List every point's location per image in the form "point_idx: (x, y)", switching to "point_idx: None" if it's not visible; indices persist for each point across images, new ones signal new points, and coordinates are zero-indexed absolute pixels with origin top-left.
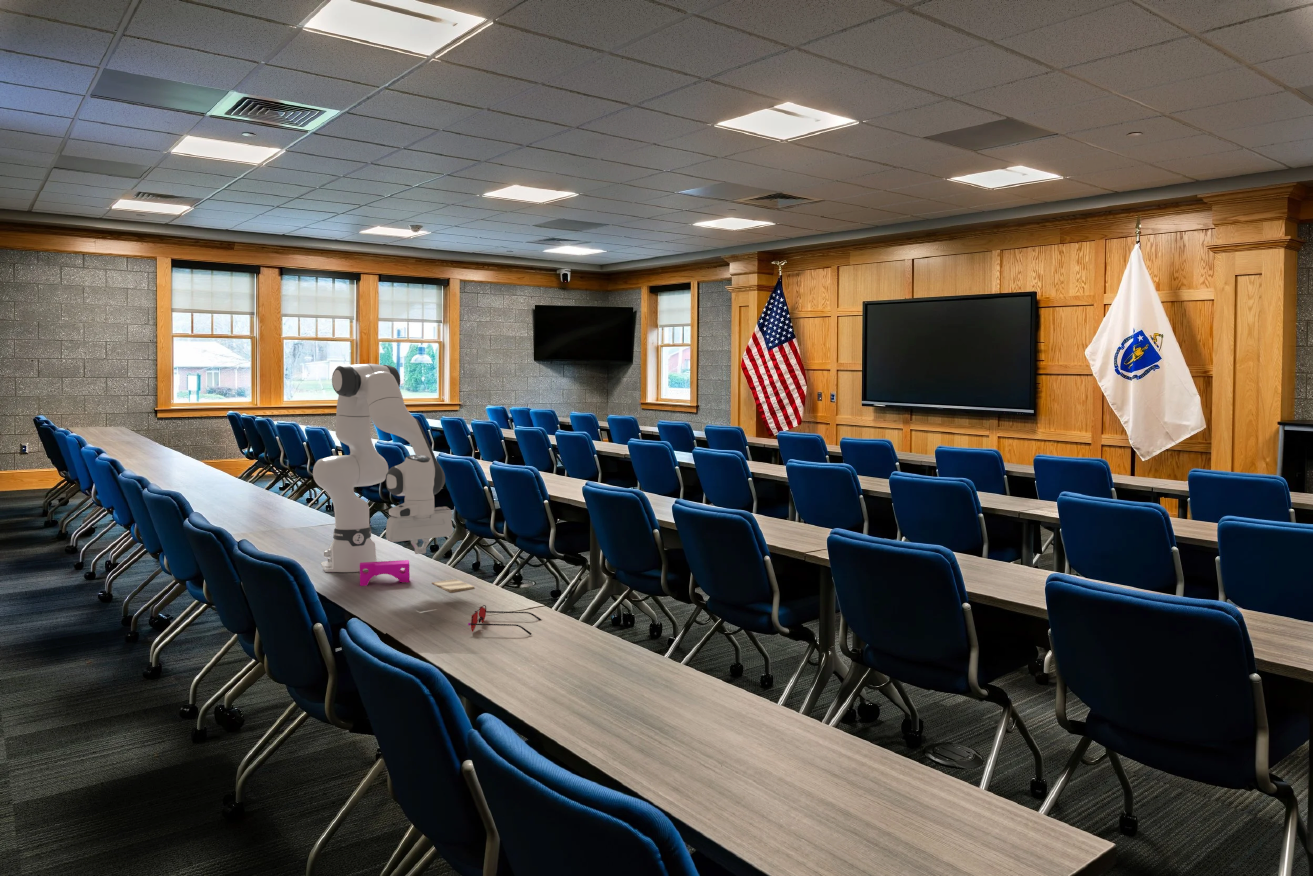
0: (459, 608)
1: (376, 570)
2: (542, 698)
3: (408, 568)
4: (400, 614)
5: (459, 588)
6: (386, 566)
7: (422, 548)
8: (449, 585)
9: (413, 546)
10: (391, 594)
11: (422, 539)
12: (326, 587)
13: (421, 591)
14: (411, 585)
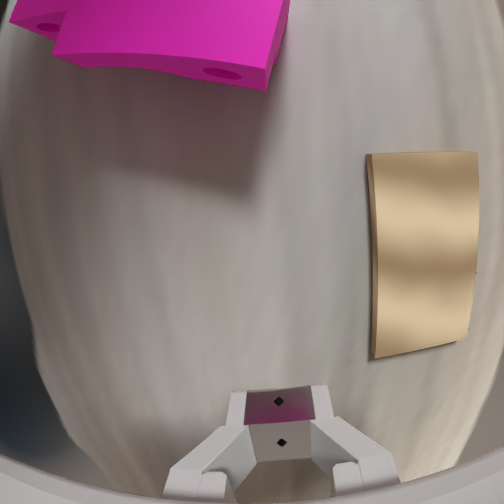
0: (304, 488)
1: (74, 61)
2: None
3: (259, 76)
4: (157, 472)
5: (414, 348)
6: (113, 55)
7: (295, 456)
8: (412, 275)
9: (208, 440)
10: (150, 236)
11: (335, 485)
12: (4, 19)
13: (287, 243)
14: (281, 80)
